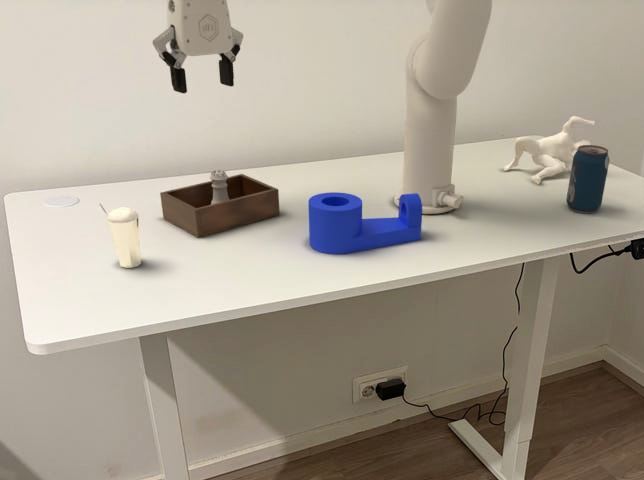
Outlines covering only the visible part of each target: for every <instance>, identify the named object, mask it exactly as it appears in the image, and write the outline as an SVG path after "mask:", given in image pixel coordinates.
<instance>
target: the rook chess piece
mask: <svg viewBox="0 0 644 480" xmlns="http://www.w3.org/2000/svg"><path fill="white" fill-rule="evenodd" d="M228 177H229V176H228V175H227V173H226V170H224V169H222V170H221V169H217V170H216V169H214V170H212V171H210V176H209V179H210V181H212V182H213V184H212V187H213V200H212V203H211V204H210V205H212V204H215V203H219V202H223V201H227V200H229V197H228V193H227V184H226V180H227V178H228Z"/></svg>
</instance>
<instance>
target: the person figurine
mask: <svg viewBox="0 0 644 480" xmlns="http://www.w3.org/2000/svg"><path fill="white" fill-rule="evenodd" d="M576 124H578V125H588V126H591V127H595V125H596V120H589V119H585V118H583V117H581V116H577V115H573V116H571V117H570V118H569V120H568V121H567V122H564V124H563V126H562V131H560V132H559V133H557V134H554V135H550V136H546V137H543V138H540V139H535V138H533V137H532V136H527V135H526V136H525V135H524V136H520V137H517V138H516V139H515V141H514V156H513V157H514V158H513V160H512V161H511V162H510V163H509V164H507V165H505V166H504V167H503V171H504V172H507V171H510V170H511V169H513V168H515V167H518V166H519V163H520V162H519V161H520V159H521V157H522V155H523V153H524V152H526V153H528V154H529V155H531V158H532V162H534V164H536V165H538V166H541V167H543V169H542V170H540V171H539V172H537V173H536V174H534V175H531V176H530V177H529V179H530V181H532V182H533V183H535V184H537V185H540V183H541V181H542V178H547V177H553V176H555V175H558V174H560V173H562V172H564V170H565V169H566V170H567V171H569V172H571V169H572V163H573V157H574V155H573V152H574V151H577V150H578V147H579V146H582V145H593V143H592V142H591V141H589V140H585V139H581V140H579V141H576V140H575V139H574V138H573V137H572V136H573V133H574V130H573V129H574V127H575V125H576ZM563 163H564V165H563ZM564 166H565V167H564Z"/></svg>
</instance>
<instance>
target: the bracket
mask: <svg viewBox="0 0 644 480" xmlns="http://www.w3.org/2000/svg"><path fill="white" fill-rule="evenodd" d="M307 203H308V205H307V206H308V237H309V238H308V240H309V241H308V242H309V243H308V244H309V246H310V248H312V249H313V250H314V251H316V252H320V253H322V254H328V255H343V254H349V253H355V252H362V251H367V250H372V249H376V248H383V247H388V246H392V245H393V246H394V245H398V244H403V243H409V242H414V241H415V242H416V241H421V239H422V238H421V237H422V221H423V214H422V202H421V198H420V196H419V195H418V194H417V193H413V194H402V195H401V196H400V199H399V207H398V217H397V216H396V217H374V218H363V200H362V199H361V197H359V196H357V195H355V194H352V193H351V194H350V193H348V192H337V191H335V192H334V191H332V192H323V193H318V194H315V195H312V196H311V197H309V199H308V202H307Z"/></svg>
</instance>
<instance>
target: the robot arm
mask: <svg viewBox="0 0 644 480" xmlns="http://www.w3.org/2000/svg"><path fill="white" fill-rule="evenodd" d="M166 5H167V6H166V21H167V22H166V23H167V29H165V30H164V31H163V32H161V33H160V34H158V35H157V36H156V37H154V39H152V45H153V47H154V48H155V49H154V50H156V52H157V53H158V57H159V58H160V59H161V60H162V61H163V62H164V63H165V65H166V66H168V67H169V73H170V81H171V86H172V89H173V91H174V92H177V93H179V94H187V93H188V87H187V77H186V70H185V68H184V67H183V64H184V63H185V61H186V59H187V57H201V56H210V55H218V56H219V57H220V59H219V60H218V71H219V82H220V84H221V85H224V86H227V87H234V85H235V82H234V79H235V73H234V63H235V62H236V61H237V58H236V57H237V56H238V54H239V52H240V50H241V46H242V43H243V39H244V34H243V32H241V31H239V30H237V28H235V27H233V26H232V24H231V23H232V22H231V17H230V11H229V6H228V1H227V0H167V1H166ZM425 5H426V8H427V11H428V13H429V14H430V16H431V19H430V24H429V27H428V31H425V32H422V33H420V34H419V35H418V36H416V37H415V38H414V39H413V40H412V41H411V43H410V45H409V47H408V49H407V52H406V57H405V65H404V66H405V67H404V68H405V69H404V70H405V73H404V74H405V122H404V145H403V166H402V167H403V168H402V170H403V171H402V190H400V191H398V192H396V193H395V195H394V196H393V197H394V198H393V202H394V204H395V205H396V206H397V207H398V208H399V199H400V196H401V195H402V194H413V193H417V194H418V195H419V196H420V198H421V202H422V215H423V214H424V215H437V214H444V213H447V212H448V213H449V212H451V211H453V210H454V209H458V208H459V207H460V206H461V203H463V201H464V196H463V195H461V194H459V193H455V191H456V184H454V183H452V174H453V162H454V149H455V137H456V125H457V115H458V113H457V110H458V96H459V95H461V94H462V93H463V92H464V91H465V90H466V89H467V88H468V86H469V85H470V82H471V80H472V78H473V76H474V73H475V70H476V67H477V64H478V60H479V57H480V54H481V50H482V47H483V44H484V41H485V37H486V34H487V31H488V27H489V24H490V20H491V15H492V8H493V0H425ZM167 44H169V47H170V50H171V51H170V52H169V50H168V49H167Z"/></svg>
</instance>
